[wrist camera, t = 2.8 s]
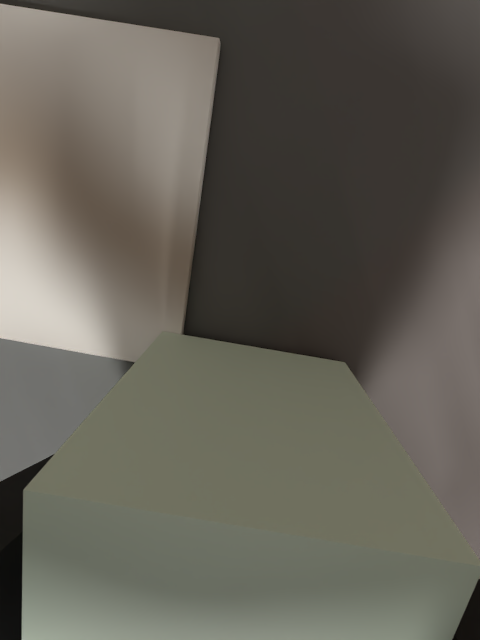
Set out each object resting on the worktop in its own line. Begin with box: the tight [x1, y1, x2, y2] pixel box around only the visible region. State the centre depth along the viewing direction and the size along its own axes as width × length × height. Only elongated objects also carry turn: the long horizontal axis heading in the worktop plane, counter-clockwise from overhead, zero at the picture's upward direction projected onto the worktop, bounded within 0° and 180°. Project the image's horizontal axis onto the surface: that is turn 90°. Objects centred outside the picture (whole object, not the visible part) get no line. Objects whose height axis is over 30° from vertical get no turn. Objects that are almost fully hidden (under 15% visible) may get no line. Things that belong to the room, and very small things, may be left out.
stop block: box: [22, 331, 480, 640], centre depth 7 cm, size 6×5×6 cm
